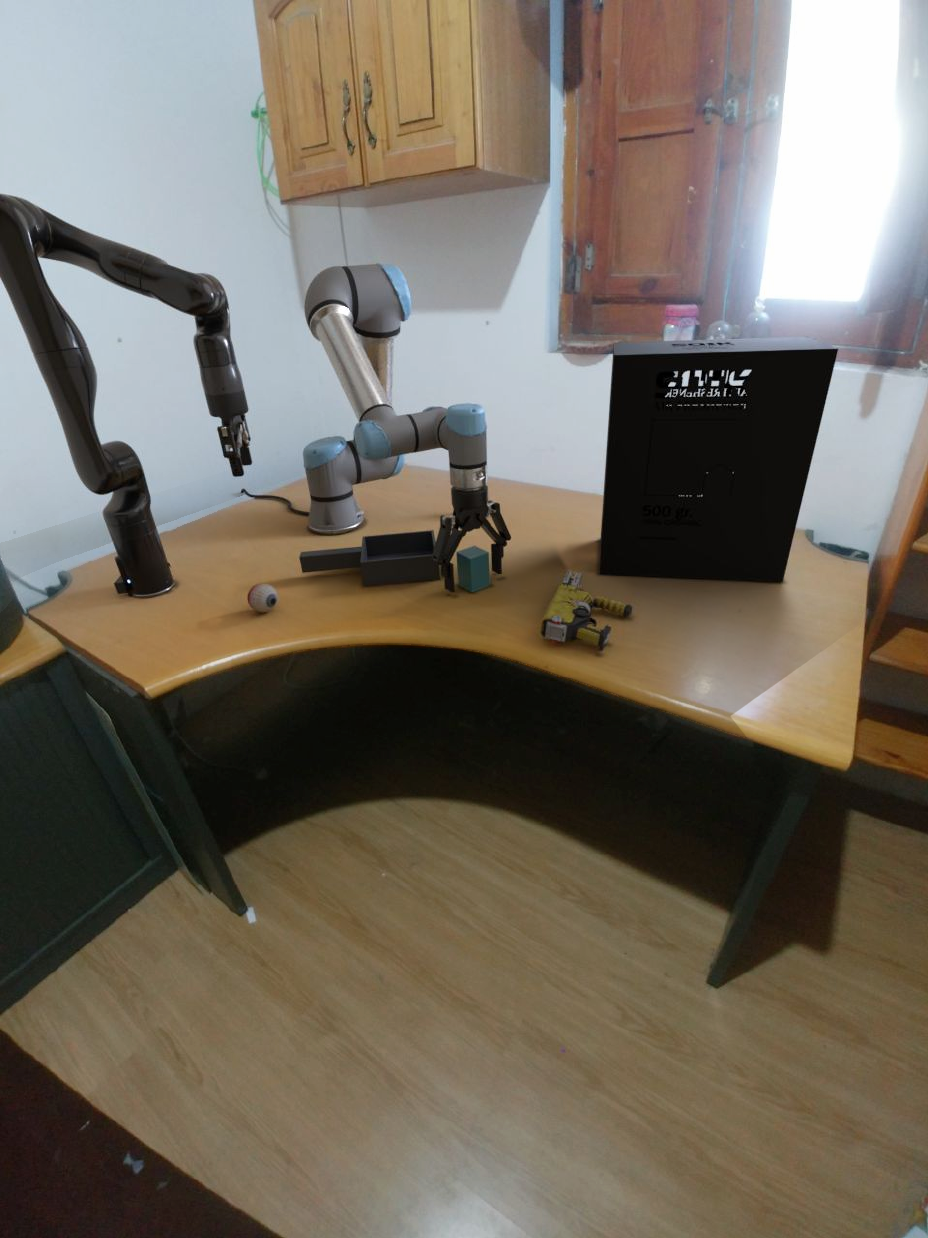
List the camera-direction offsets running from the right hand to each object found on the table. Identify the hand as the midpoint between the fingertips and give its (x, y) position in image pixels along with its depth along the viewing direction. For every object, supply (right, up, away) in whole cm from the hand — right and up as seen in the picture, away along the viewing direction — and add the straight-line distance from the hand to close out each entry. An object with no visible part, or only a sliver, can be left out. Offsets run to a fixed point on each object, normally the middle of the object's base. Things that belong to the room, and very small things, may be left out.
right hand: (473, 581), depth 132 cm
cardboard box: (+48, +5, +7) cm, 49 cm away
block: (0, -1, +1) cm, 1 cm away
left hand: (-49, +23, -5) cm, 54 cm away
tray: (-24, +3, +10) cm, 26 cm away
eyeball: (-44, -7, -5) cm, 45 cm away
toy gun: (+23, -8, -15) cm, 28 cm away
